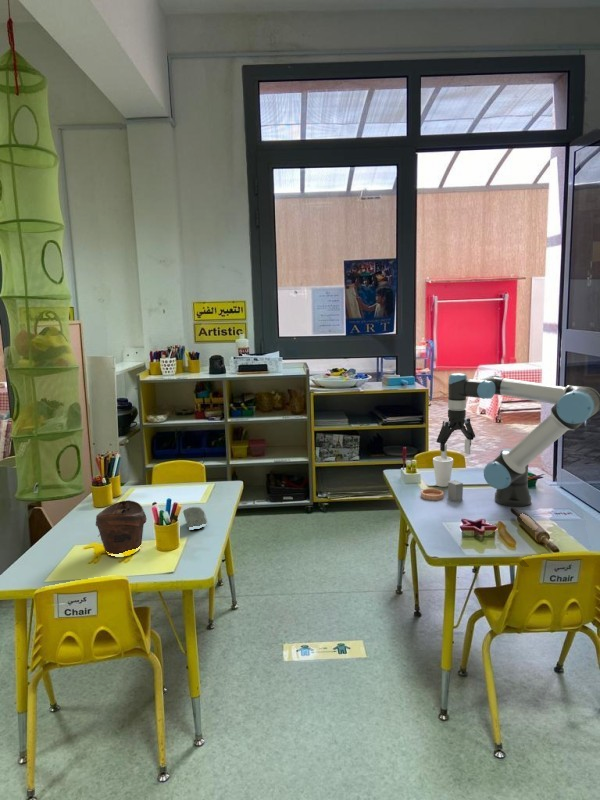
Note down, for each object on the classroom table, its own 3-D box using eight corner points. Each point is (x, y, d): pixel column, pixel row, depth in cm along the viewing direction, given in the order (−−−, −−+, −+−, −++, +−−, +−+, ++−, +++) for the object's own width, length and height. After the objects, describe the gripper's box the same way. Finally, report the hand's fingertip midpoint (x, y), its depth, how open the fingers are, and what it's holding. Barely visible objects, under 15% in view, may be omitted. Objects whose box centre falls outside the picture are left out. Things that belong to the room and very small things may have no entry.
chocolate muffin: (136, 534, 222) (131, 492, 219) (157, 551, 207) (153, 506, 203) (91, 548, 211) (85, 504, 208) (110, 567, 196) (104, 519, 192)
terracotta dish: (448, 497, 253) (448, 493, 253) (430, 501, 249) (430, 497, 248) (433, 491, 262) (433, 487, 262) (416, 495, 258) (416, 490, 257)
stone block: (462, 500, 249) (462, 483, 248) (455, 501, 248) (456, 484, 246) (454, 496, 254) (455, 480, 252) (447, 498, 252) (448, 481, 251)
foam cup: (429, 482, 274) (429, 457, 272) (445, 480, 277) (446, 455, 274) (439, 488, 265) (439, 462, 263) (456, 486, 268) (457, 460, 266)
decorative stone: (203, 534, 221) (211, 510, 225) (176, 525, 221) (186, 501, 224) (203, 537, 233) (211, 514, 237) (178, 529, 233) (187, 506, 236)
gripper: (472, 404, 252) (470, 449, 256) (428, 410, 241) (428, 458, 245) (484, 407, 246) (482, 453, 249) (440, 413, 235) (439, 462, 238)
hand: (455, 455), depth 247 cm, fingers open, 13 cm apart
